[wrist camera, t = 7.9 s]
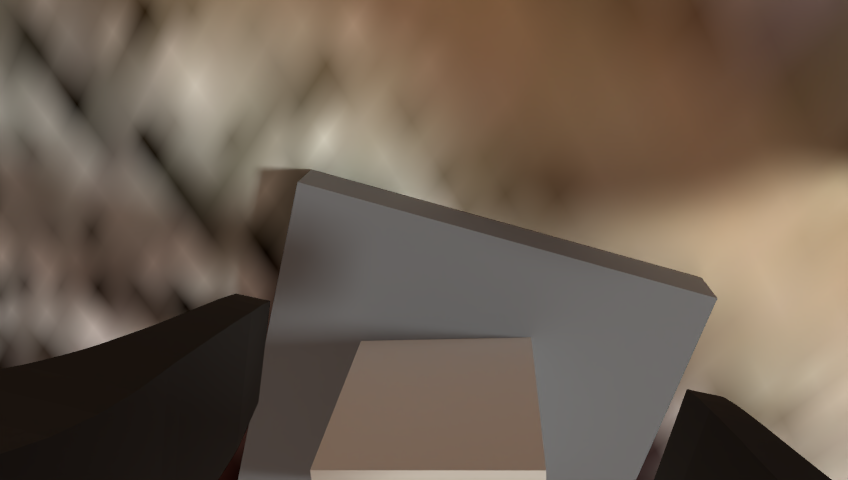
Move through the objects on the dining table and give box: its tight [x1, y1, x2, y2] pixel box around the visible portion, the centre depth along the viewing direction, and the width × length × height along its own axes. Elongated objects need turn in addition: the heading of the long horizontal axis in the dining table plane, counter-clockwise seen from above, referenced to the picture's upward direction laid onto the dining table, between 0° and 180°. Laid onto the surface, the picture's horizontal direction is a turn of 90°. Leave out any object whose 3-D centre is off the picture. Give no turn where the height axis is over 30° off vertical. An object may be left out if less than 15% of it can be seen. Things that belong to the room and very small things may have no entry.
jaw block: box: [310, 337, 546, 480], centre depth 18 cm, size 5×5×6 cm
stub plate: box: [238, 170, 717, 480], centre depth 20 cm, size 12×12×5 cm
